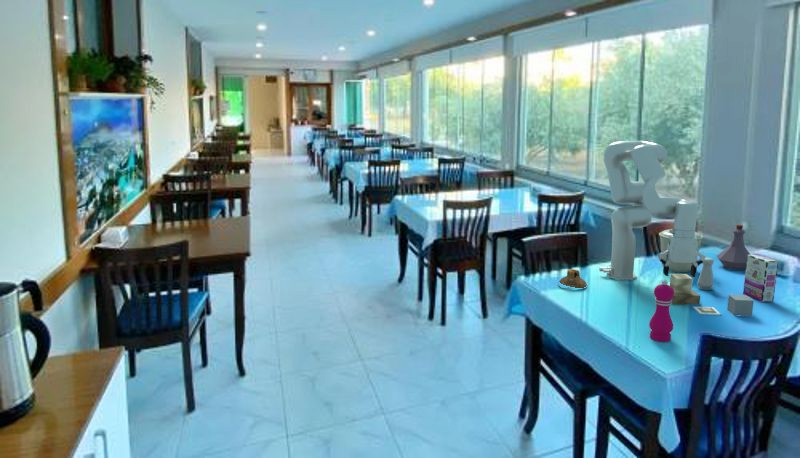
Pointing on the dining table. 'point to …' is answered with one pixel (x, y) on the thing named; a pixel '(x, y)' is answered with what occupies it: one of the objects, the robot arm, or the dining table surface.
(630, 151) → the robot arm
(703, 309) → the card
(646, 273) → the dining table surface
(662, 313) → the pepper mill
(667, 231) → the canister
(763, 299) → the candy bar box
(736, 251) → the flask
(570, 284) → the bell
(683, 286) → the maple cube
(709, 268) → the salt shaker
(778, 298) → the dining table surface
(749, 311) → the grey cube
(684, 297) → the walnut block
